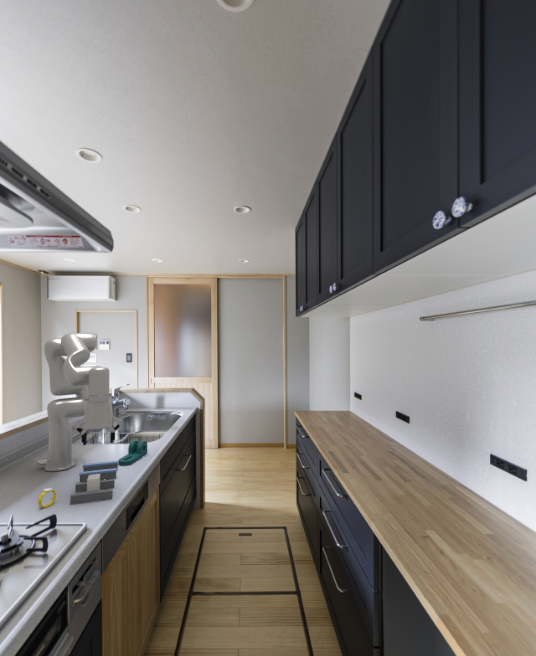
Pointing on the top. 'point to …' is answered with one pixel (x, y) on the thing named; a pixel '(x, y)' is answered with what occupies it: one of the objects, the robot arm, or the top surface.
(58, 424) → the robot arm
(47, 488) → the watch
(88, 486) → the off-white rectangular prism
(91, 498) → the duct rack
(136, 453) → the bracket
